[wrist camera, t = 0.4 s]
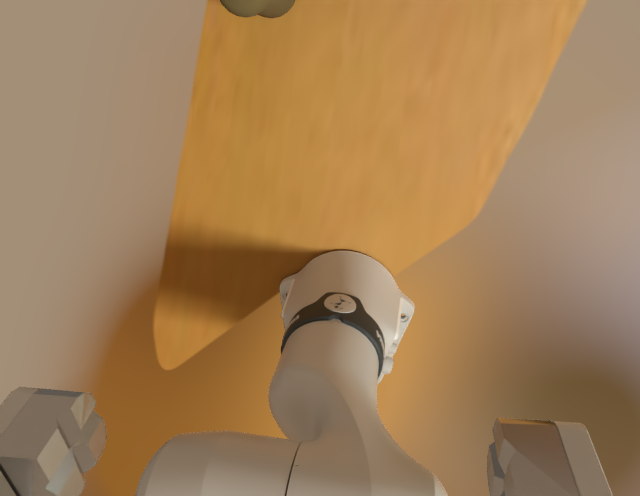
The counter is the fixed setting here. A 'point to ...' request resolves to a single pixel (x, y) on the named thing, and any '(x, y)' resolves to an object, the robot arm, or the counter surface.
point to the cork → (258, 7)
